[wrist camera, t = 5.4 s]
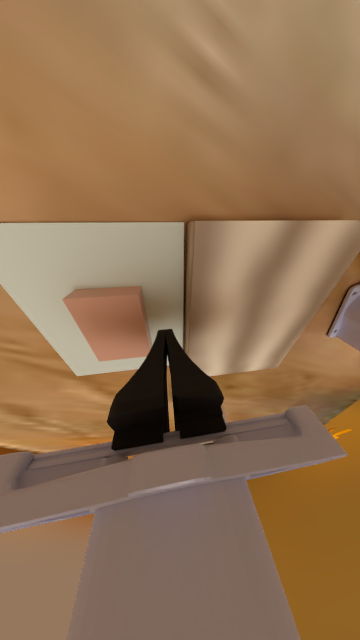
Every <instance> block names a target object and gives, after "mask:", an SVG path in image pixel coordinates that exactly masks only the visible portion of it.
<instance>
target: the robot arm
mask: <svg viewBox="0 0 360 640" xmlns="http://www.w3.org/2000/svg"><path fill="white" fill-rule="evenodd" d="M335 336H336V337H338V338H339V339H341V340H343V341H344V342H346V343H347V344H349V345H351V346H352V347H354V348H356V349H357V350H359V351H360V284H358V285H355V286H353V287H351V288H350V289H349V291H348V293H347V295H346V297H345V299H344V301H343V303H342V306H341V308H340V310H339V312H338V314H337V316H336V318H335V321H334V323H333V325H332V327H331V329H330V331H329V333H328V337H330V338H332V337H335ZM167 356H168V362H169V368H170V373H171V383H172V396H173V408H174V420H175V431H173V432H170V429H169V413H168V397H167ZM223 400H224V397H223V394H222V392H221V390H220V388H219V386H218V385H217V383H216V382H215V381H214V380H213V379H212V378H210V377H209V376H208V375H207V374H205V373H204V372H203V371H202V370H201V369H200V368H199V367H198V366H197V365H196V364H195V363H194V362H193V361H192V360H191V359H190V358H189V356H188V355H187V354H186V353H185V351H184V350H183V348H182V347H181V345H180V344H179V342H178V341H177V339H176V337H175V335H174V332H173V330H172V329H163V330H158V332H157V335H156V338H155V341H154V343H153V345H152V348H151V350H150V351H149V353H148V355H147V357H146V359H145V360H144V362H143V363H142V365H141V366H140V368H139V369H138V370H137V372H136V373H135V374H134V375H133V377H132V378H131V379H130V380H129V381H128V383H127V384H126V385H125V386H124V387H123V388H122V389H121V390H120V391H119V392H118V393H117V394H116V396H115V398H114V400H113V403H112V405H111V408H110V412H109V416H108V420H107V423H108V425H109V426H110V427H111V428H112V429H113V430H114V431H115V432H114V437H113V441H112V442H108V443H102V444H96V445H90V446H84V447H78V448H72V449H66V450H60V451H54V452H48V453H42V454H36V455H34V454H33V453H31V452H17V453H11V454H5V455H0V533H3V532H7V531H12V530H16V529H21V528H26V527H30V526H35V525H40V524H45V523H50V522H54V521H59V520H64V519H69V518H74V517H79V516H83V515H88V514H93V513H95V515H94V519H93V524H92V529H91V532H90V537H89V541H88V546H87V551H86V555H85V560H84V564H83V568H82V573H81V577H80V582H79V586H78V591H77V595H76V599H75V604H74V608H73V613H72V617H71V621H70V626H69V631H68V635H67V639H66V640H301V639H300V636H299V633H298V630H297V627H296V624H295V621H294V618H293V615H292V613H291V610H290V607H289V604H288V601H287V598H286V595H285V592H284V589H283V586H282V583H281V581H280V578H279V575H278V572H277V569H276V566H275V563H274V560H273V557H272V554H271V551H270V549H269V546H268V543H267V540H266V537H265V534H264V531H263V528H262V525H261V522H260V519H259V516H258V514H257V511H256V508H255V505H254V502H253V499H252V496H251V493H250V491H249V487H248V484H247V481H246V480H249V479H253V478H257V477H262V476H266V475H270V474H275V473H279V472H284V471H288V470H293V469H297V468H301V467H306V466H310V465H315V464H319V463H323V462H327V461H330V460H334V459H338V458H341V457H345V456H347V453H346V452H345V451H344V449H343V448H342V447H341V446H340V445H339V443H338V442H337V441H336V440H335V439H334V437H333V436H332V435H331V434H330V432H329V431H328V430H327V429H326V428H325V426H324V425H323V424H322V423H321V422H320V420H319V419H318V418H317V417H316V416H315V414H314V413H313V412H312V411H311V410H310V408H309V407H308V406H307V405H303V406H297V407H292V408H289V409H287V410H286V411H285V412H284V413H281V414H275V415H269V416H263V417H257V418H251V419H245V420H239V421H233V422H227V423H225V421H224V418H223V416H222V415H223V412H222V409H221V405H222V403H223ZM209 441H213V444H210V445H203V444H198V443H204V442H209ZM137 454H138V455H137ZM132 455H136V456H134V457H133V458H132V459H129V460H128V457H126V456H132Z"/></svg>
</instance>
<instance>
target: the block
mask: <svg viewBox="0 0 360 640" xmlns="http://www.w3.org/2000/svg"><path fill="white" fill-rule="evenodd" d="M62 300H63V302H64V303H65V305H66V307H67V308H68V310H69V312H70V313H71V315H72V317H73V318H74V320H75V322H76V324H77V325H78V327H79V329H80V330H81V332H82V334H83V335H84V337H85V339H86V340H87V342H88V344H89V345H90V347H91V349H92V351H93V352H94V354H95V356H96V357H97V359H98V361H99V362H100V361H110V360H119V359H128V358H137V357H146V356H147V355H148V353H149V351H150V350H151V348H152V340H151V335H150V330H149V325H148V319H147V314H146V309H145V304H144V298H143V293H142V288H141V286H131V287H113V288H95V289H77V290H74V291H73V292H71V293H70V294H68V295H67V296H66V297H64V298H63V299H62Z"/></svg>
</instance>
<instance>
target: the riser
mask: <svg viewBox="0 0 360 640" xmlns="http://www.w3.org/2000/svg"><path fill="white" fill-rule="evenodd" d="M359 252H360V220H290V221H192V222H187V248H186V299H185V353H186V354H187V355H188V356H189V358H190V359H191V360H192V361H193V362H194V363H195V364H196V365H197V366H198V367H199V368H200V369H201V370H202V371H203V372H204V373H205V374H207V375H208V376H215V375H222V374H230V373H238V372H246V371H254V370H261V369H269V368H277V367H278V366H279V364H280V363H281V361H282V360H283V359H284V357H285V356H286V354H287V353H288V352H289V350H290V349H291V347H292V346H293V345H294V343H295V342H296V340H297V339H298V338H299V336H300V335H301V333H302V332H303V331H304V329H305V328H306V326H307V325H308V324H309V322H310V321H311V319H312V318H313V317H314V315H315V314H316V312H317V311H318V309H319V308H320V307H321V305H322V304H323V302H324V301H325V300H326V298H327V297H328V295H329V294H330V293H331V291H332V290H333V288H334V287H335V286H336V284H337V283H338V281H339V280H340V279H341V277H342V276H343V274H344V273H345V272H346V270H347V269H348V267H349V266H350V265H351V263H352V262H353V260H354V259H355V258H356V256H357V255H358V253H359Z"/></svg>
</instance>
